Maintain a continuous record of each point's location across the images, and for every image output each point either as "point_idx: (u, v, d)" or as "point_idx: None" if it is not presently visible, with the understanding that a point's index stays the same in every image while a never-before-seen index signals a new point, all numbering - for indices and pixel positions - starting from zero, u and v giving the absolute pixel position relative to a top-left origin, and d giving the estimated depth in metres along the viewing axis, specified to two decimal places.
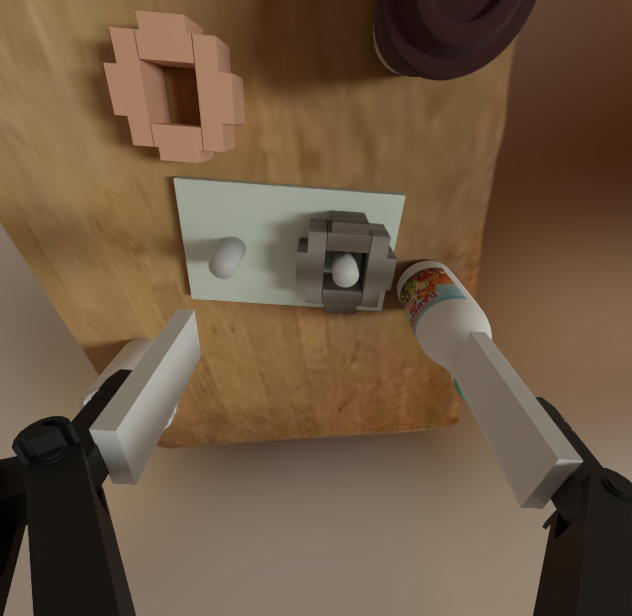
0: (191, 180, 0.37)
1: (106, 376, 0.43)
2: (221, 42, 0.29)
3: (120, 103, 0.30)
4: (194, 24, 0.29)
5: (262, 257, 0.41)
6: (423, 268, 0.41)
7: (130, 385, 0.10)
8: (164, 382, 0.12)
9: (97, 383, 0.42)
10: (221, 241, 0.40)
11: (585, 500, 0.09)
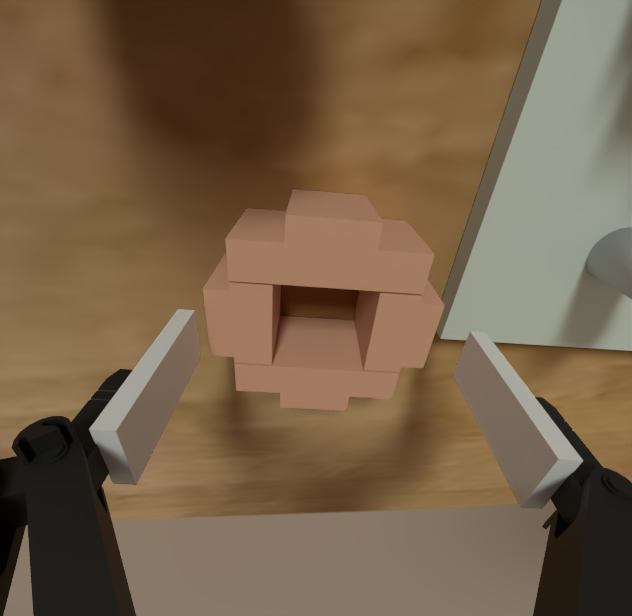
0: (451, 312, 0.19)
1: None
2: (237, 225, 0.15)
3: (332, 400, 0.19)
4: (219, 266, 0.17)
5: None
6: None
7: (130, 385, 0.10)
8: (164, 382, 0.12)
9: None
10: (588, 278, 0.18)
11: (586, 500, 0.09)
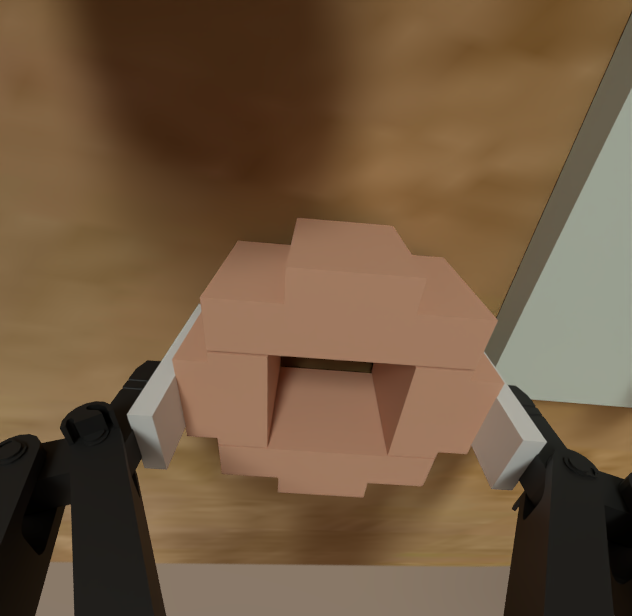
0: (498, 366, 0.16)
1: None
2: (221, 271, 0.11)
3: (344, 486, 0.14)
4: (200, 318, 0.13)
5: None
6: None
7: (161, 374, 0.11)
8: None
9: None
10: None
11: (549, 482, 0.09)
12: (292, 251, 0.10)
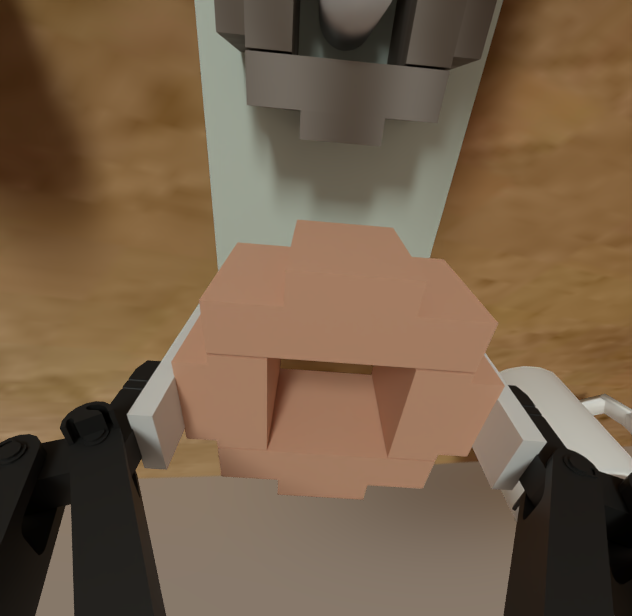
0: None
1: None
2: (221, 273, 0.11)
3: (344, 488, 0.14)
4: (200, 320, 0.13)
5: (341, 214, 0.22)
6: None
7: (161, 374, 0.11)
8: None
9: (508, 505, 0.27)
10: None
11: (550, 482, 0.09)
12: (292, 253, 0.10)
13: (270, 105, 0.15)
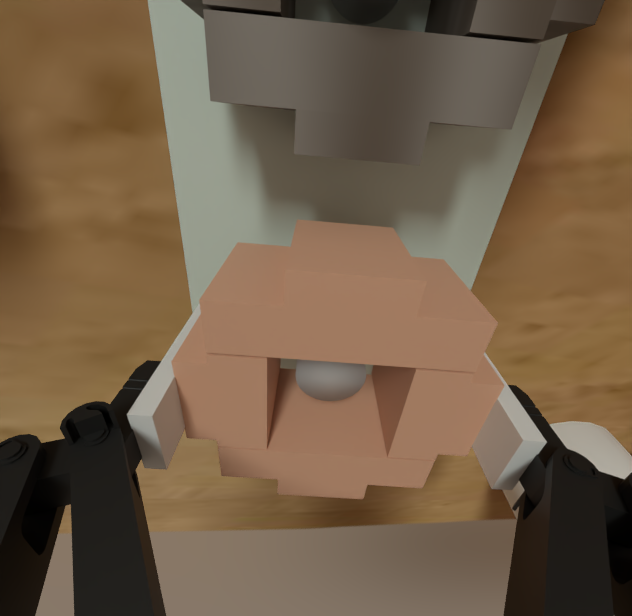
0: None
1: None
2: (221, 273, 0.11)
3: (344, 488, 0.14)
4: (200, 320, 0.13)
5: None
6: None
7: (161, 374, 0.11)
8: None
9: None
10: None
11: (550, 482, 0.09)
12: (292, 253, 0.10)
13: (248, 101, 0.09)
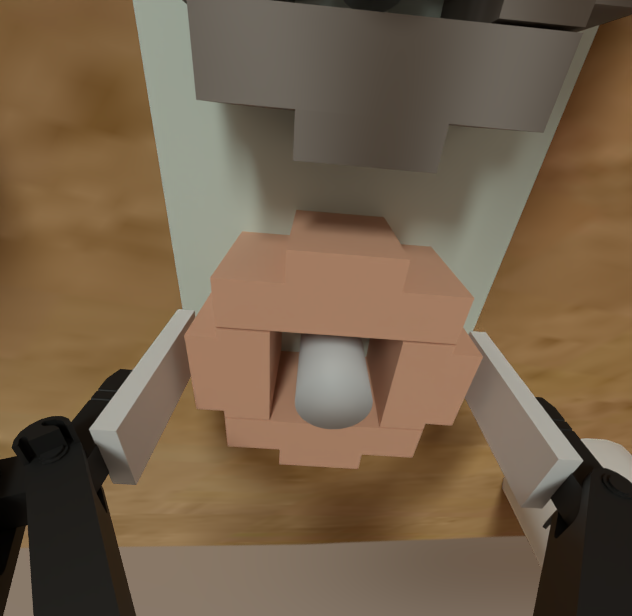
0: None
1: None
2: (228, 256, 0.12)
3: (340, 458, 0.16)
4: (208, 302, 0.14)
5: None
6: None
7: (130, 385, 0.10)
8: (164, 382, 0.12)
9: None
10: None
11: (586, 500, 0.09)
12: (291, 237, 0.11)
13: (239, 100, 0.08)
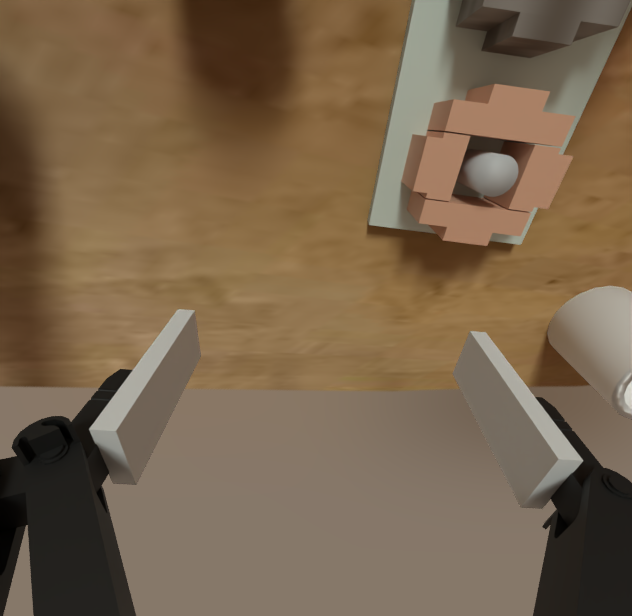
0: (374, 204, 0.31)
1: (597, 375, 0.32)
2: None
3: (479, 236, 0.28)
4: (420, 135, 0.26)
5: None
6: None
7: (130, 385, 0.10)
8: (164, 382, 0.12)
9: (604, 388, 0.32)
10: None
11: (586, 501, 0.09)
12: None
13: (499, 7, 0.20)
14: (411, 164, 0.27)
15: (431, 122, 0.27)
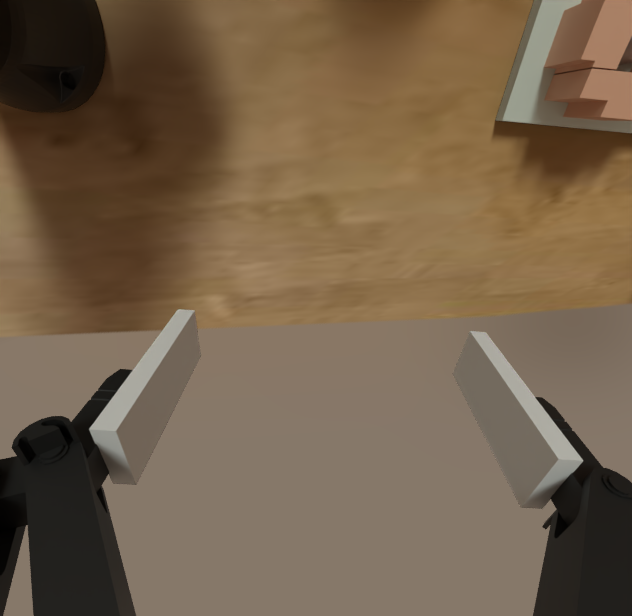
0: (511, 96, 0.31)
1: None
2: None
3: None
4: (586, 2, 0.26)
5: None
6: None
7: (130, 385, 0.10)
8: (164, 382, 0.12)
9: None
10: None
11: (586, 500, 0.09)
12: None
13: None
14: (569, 38, 0.27)
15: None
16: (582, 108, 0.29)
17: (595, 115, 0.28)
